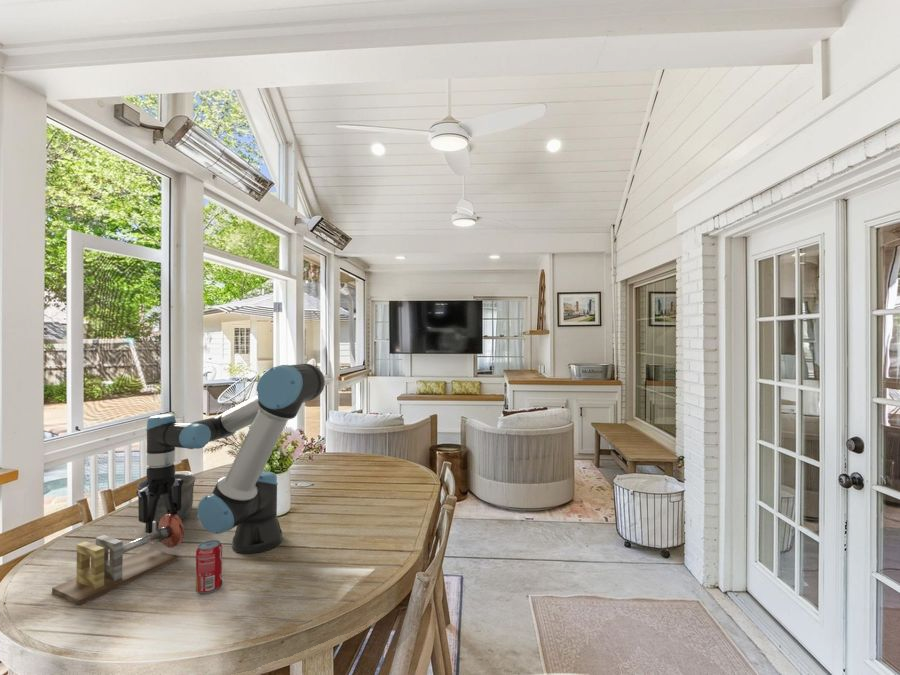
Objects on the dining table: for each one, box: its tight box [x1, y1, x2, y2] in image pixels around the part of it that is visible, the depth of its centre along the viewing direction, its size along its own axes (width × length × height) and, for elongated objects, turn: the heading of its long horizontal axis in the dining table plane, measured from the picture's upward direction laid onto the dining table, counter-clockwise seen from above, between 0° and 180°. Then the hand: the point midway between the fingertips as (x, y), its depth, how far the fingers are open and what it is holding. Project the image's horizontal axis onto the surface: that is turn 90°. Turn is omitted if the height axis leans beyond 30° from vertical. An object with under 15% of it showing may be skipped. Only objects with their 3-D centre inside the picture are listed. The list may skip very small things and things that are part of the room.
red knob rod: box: [123, 513, 185, 554], centre depth 133 cm, size 10×17×10 cm, turn 155°
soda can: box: [195, 539, 223, 595], centre depth 120 cm, size 6×6×12 cm
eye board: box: [51, 534, 178, 606], centre depth 126 cm, size 13×25×11 cm, turn 155°
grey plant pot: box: [136, 474, 196, 524], centre depth 164 cm, size 18×18×15 cm
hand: (160, 538), depth 140 cm, fingers closed on red knob rod, 4 cm apart
